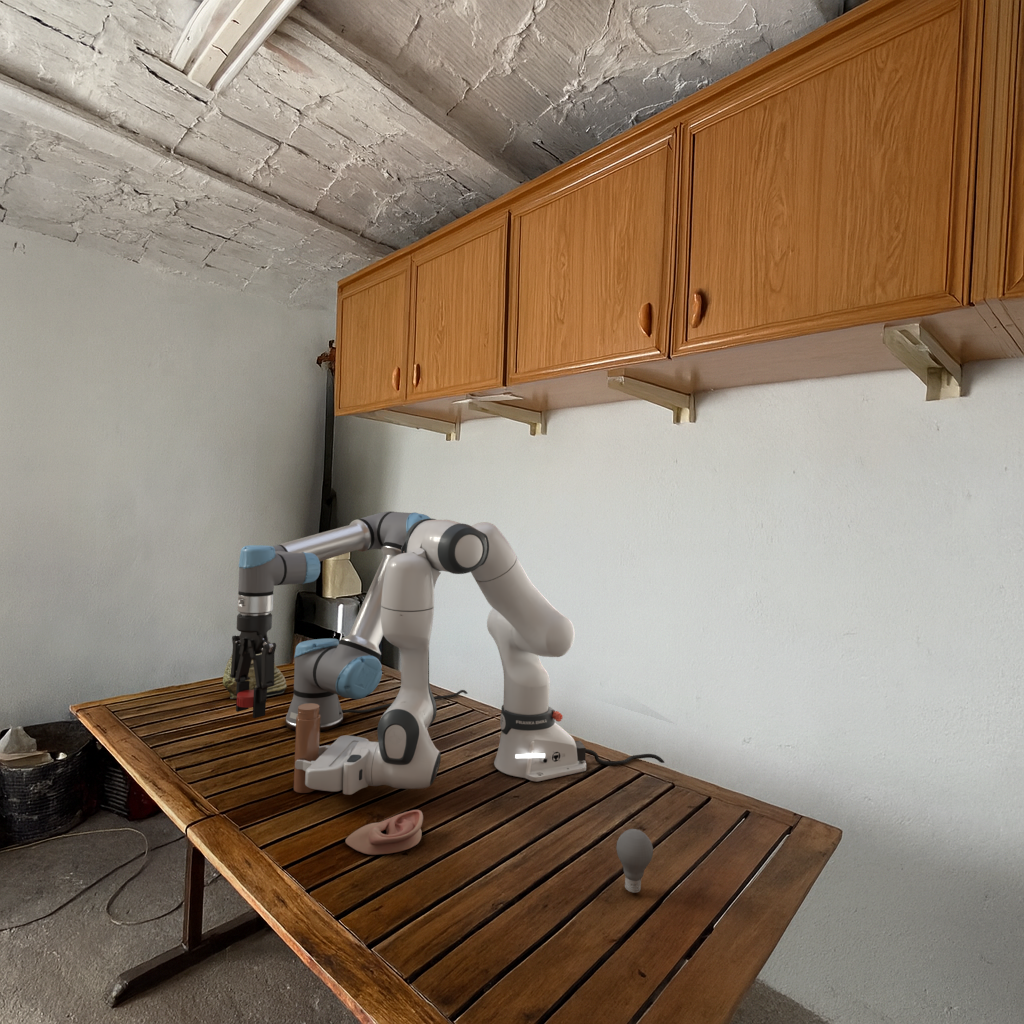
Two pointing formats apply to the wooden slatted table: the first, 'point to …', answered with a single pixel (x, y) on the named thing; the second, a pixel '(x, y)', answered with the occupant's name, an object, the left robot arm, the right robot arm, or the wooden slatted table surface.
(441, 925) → the wooden slatted table surface
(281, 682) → the fossil
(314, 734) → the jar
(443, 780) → the wooden slatted table surface
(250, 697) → the lid
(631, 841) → the light bulb
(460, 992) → the wooden slatted table surface
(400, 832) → the anatomical model
